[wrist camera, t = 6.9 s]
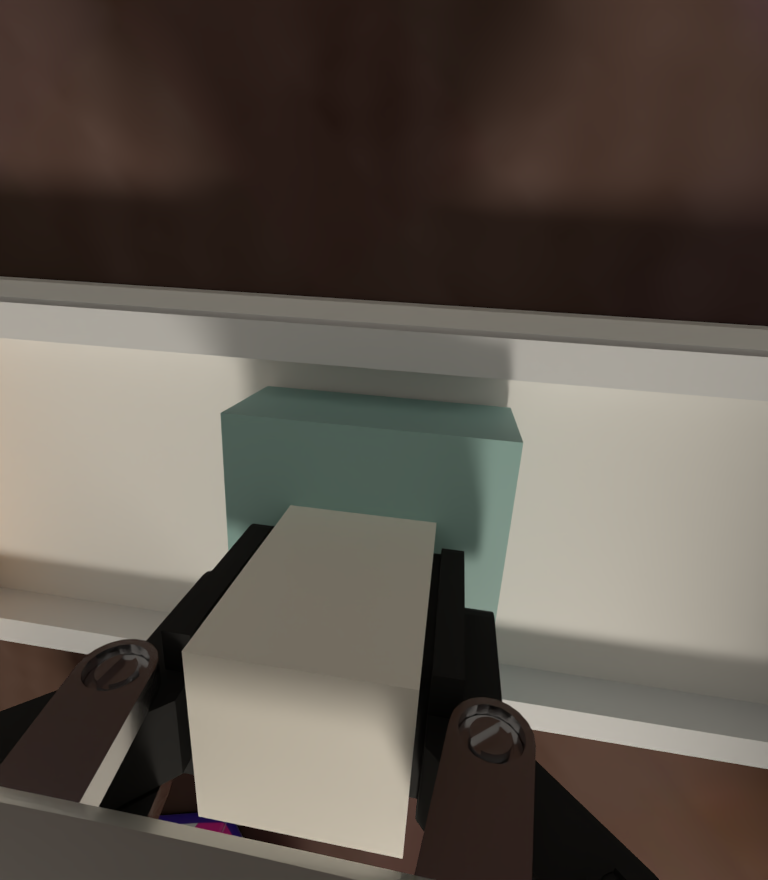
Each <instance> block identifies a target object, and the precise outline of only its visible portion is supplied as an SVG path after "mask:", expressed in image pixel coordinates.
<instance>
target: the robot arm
mask: <svg viewBox="0 0 768 880" xmlns="http://www.w3.org/2000/svg"><path fill="white" fill-rule="evenodd" d="M274 527H275V526H269V525H262V524H251V525H250V526H249V527H248V528H247V530H246V531H245V532H244V533H243V534H242V536H241V537H240V538H239V539H238V540H237V541H236V543H235V544H234V545H233V546H232V547H231V549H230V550H229V551H228V552H227V553H226V554H225V556H224V557H223V558H222V559H221V560H220V562H219V563H218V564H217V565H216V566H215V568H214V569H213V570H212V571H207V572H206V573H205V574H203V575H202V576H201V578H200V579H199V580H198V581H197V582H196V583H195V585H194V586H193V587H192V588H191V589H190V590H189V592H188V593H187V594H186V595H185V596H184V597H183V598H182V600H181V601H180V602H179V603H178V604H177V605H176V607H175V608H174V609H173V610H172V611H171V612H170V614H169V615H168V616H167V617H166V618H165V619H164V620H163V622H162V623H161V624H160V625H159V626H158V627H157V629H156V630H155V631H154V632H153V633H152V634H151V636H150V637H149V638H148V639H147V640H146V641H145V640H139V639H123V640H119V641H115V642H111V643H108V644H106V645H103V646H101V647H99V648H97V649H95V650H94V651H92V652H91V653H89V654H88V655H86V656H85V657H84V658H83V659H82V660H81V661H80V662H79V663H78V664H77V665H76V667H75V668H74V669H73V670H72V672H71V673H70V674H69V676H68V677H67V678H66V680H65V681H64V682H63V684H62V685H61V686H60V687H59V689H58V690H57V691H54V692H51V693H49V694H46V695H43V696H41V697H38V698H35V699H33V700H30V701H27V702H24V703H22V704H19V705H16V706H14V707H11V708H8V709H6V710H3V711H0V880H659V879H658V878H657V877H656V876H655V874H654V873H652V872H651V871H650V870H649V869H648V868H647V867H646V866H645V865H644V864H643V863H642V862H641V861H640V860H639V859H638V858H637V857H636V856H635V855H634V854H633V853H632V852H631V851H630V850H628V849H627V848H626V847H625V846H624V845H623V844H622V843H621V842H620V841H619V840H618V839H617V838H616V837H615V836H614V835H613V834H612V833H611V832H610V831H609V830H608V829H607V828H606V827H604V826H603V825H602V824H601V823H600V822H599V821H598V820H597V819H596V818H595V817H594V816H593V815H592V814H591V813H590V812H589V811H588V810H587V809H586V808H585V807H584V806H583V805H582V804H580V803H579V802H578V801H577V800H576V799H575V798H574V797H573V796H572V795H571V794H570V793H569V792H568V791H567V790H566V789H565V788H564V787H563V786H562V785H561V784H560V783H559V782H558V781H556V780H555V779H554V778H553V777H552V776H551V775H550V774H549V773H548V772H547V771H546V770H545V769H544V768H543V767H542V766H541V765H540V764H539V763H538V762H537V761H536V760H535V752H536V745H535V738H534V733H533V731H532V729H531V727H530V725H529V723H528V722H527V721H526V719H525V718H524V717H523V716H522V715H521V714H520V713H519V712H518V711H517V710H515V709H514V708H512V707H511V706H510V705H508V704H506V703H504V702H502V693H501V682H500V672H499V661H498V650H497V639H496V628H495V618H494V613H493V612H491V611H485V610H478V609H471V608H465V562H464V551H459V550H452V549H444V548H442V550H441V554H436V553H433V563H432V572H431V582H430V592H429V601H428V611H427V621H426V630H425V640H424V650H423V659H422V669H421V679H420V689H419V699H418V709H417V719H416V729H415V739H414V749H413V759H412V769H411V779H410V789H409V797H411V798H417V806H416V818H415V819H416V821H417V822H418V823H419V825H420V826H421V828H422V829H423V830H424V835H423V839H422V843H421V848H420V852H419V857H418V861H417V866H416V870H415V874H414V875H411V874H406V873H402V872H397V871H393V870H388V869H384V868H379V867H375V866H370V865H366V864H361V863H357V862H352V861H348V860H343V859H338V858H334V857H329V856H325V855H320V854H316V853H311V852H307V851H302V850H298V849H293V848H289V847H284V846H279V845H275V844H270V843H266V842H261V841H256V840H252V839H247V838H242V837H238V836H233V835H228V834H224V833H219V832H215V831H210V830H205V829H201V828H196V827H191V826H187V825H182V824H177V823H172V822H168V821H163V820H158V819H159V816H160V814H161V811H162V809H163V806H164V804H165V802H166V799H167V797H168V794H169V792H170V788H171V784H172V779H173V778H175V777H177V776H179V775H181V774H183V773H187V774H192V775H194V768H193V758H192V748H191V738H190V729H189V719H188V709H187V699H186V689H185V679H184V670H183V660H182V650H183V649H184V648H185V646H186V645H187V643H188V642H189V641H190V639H191V638H192V637H193V635H194V634H195V633H196V631H197V630H198V629H199V627H200V626H201V625H202V623H203V622H204V621H205V619H206V618H207V617H208V615H209V614H210V613H211V611H212V610H213V609H214V607H215V606H216V605H217V603H218V602H219V601H220V599H221V598H222V596H223V595H224V594H225V592H226V591H227V590H228V588H229V587H230V586H231V584H232V583H233V582H234V580H235V579H236V578H237V576H238V575H239V574H240V572H241V571H242V570H243V568H244V567H245V566H246V564H247V563H248V562H249V560H250V559H251V558H252V556H253V555H254V554H255V552H256V551H257V550H258V548H259V547H260V545H261V544H262V543H263V541H264V540H265V539H266V537H267V536H268V535H269V533H270V532H271V531H272V529H273V528H274Z"/></svg>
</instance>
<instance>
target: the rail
mask: <svg viewBox="0 0 768 880" xmlns="http://www.w3.org/2000/svg"><path fill="white" fill-rule="evenodd" d="M267 386H273V387H285V388H296V389H307V390H318V391H329V392H341V393H352V394H363V395H374V396H385V397H396V398H408V399H419V400H430V401H441V402H452V403H464V404H475V405H486V406H497V407H508V408H511V410H512V413H513V416H514V418H515V421H516V424H517V427H518V429H519V432H520V435H521V437H522V440H523V448H522V455H521V461H520V468H519V474H518V480H517V487H516V493H515V500H514V506H513V512H512V519H511V525H510V532H509V538H508V544H507V551H506V557H505V564H504V570H503V577H502V583H501V589H500V596H499V602H498V609H497V615H496V621H495V628H496V639H497V650H498V661H499V672H500V682H501V693H502V702H504V703H506V704H508V705H510V706H511V707H512V708H514V709H515V710H517V711H518V712H519V713H520V714H521V715H522V716H523V717H524V718H525V719H526V721H527V722H528V723H529V725H530V727H531V729H533V730H539V731H545V732H551V733H557V734H563V735H569V736H575V737H581V738H586V739H592V740H598V741H604V742H610V743H616V744H622V745H628V746H634V747H640V748H646V749H652V750H658V751H664V752H669V753H675V754H681V755H687V756H693V757H699V758H705V759H711V760H717V761H723V762H729V763H735V764H741V765H747V766H753V767H758V768H764V769H768V326H756V325H741V324H726V323H710V322H695V321H679V320H664V319H649V318H633V317H618V316H602V315H587V314H572V313H556V312H541V311H526V310H510V309H495V308H479V307H464V306H449V305H433V304H418V303H402V302H387V301H372V300H356V299H341V298H325V297H310V296H295V295H279V294H264V293H248V292H233V291H218V290H202V289H187V288H171V287H156V286H141V285H125V284H110V283H94V282H79V281H64V280H48V279H33V278H18V277H2V276H0V640H5V641H11V642H17V643H23V644H29V645H35V646H41V647H47V648H53V649H59V650H65V651H70V652H76V653H82V654H89V653H91V652H92V651H94V650H95V649H97V648H99V647H101V646H103V645H106V644H108V643H111V642H115V641H119V640H123V639H139V640H145V641H146V640H147V639H148V638H149V637H150V636H151V634H152V633H153V632H154V631H155V630H156V629H157V627H158V626H159V625H160V624H161V623H162V622H163V620H164V619H165V618H166V617H167V616H168V615H169V614H170V612H171V611H172V610H173V609H174V608H175V607H176V605H177V604H178V603H179V602H180V601H181V600H182V598H183V597H184V596H185V595H186V594H187V593H188V592H189V590H190V589H191V588H192V587H193V586H194V585H195V583H196V582H197V581H198V580H199V579H200V578H201V576H202V575H203V574H205V573H206V572H207V571H212V570H213V569H214V568H215V566H216V565H217V564H218V563H219V562H220V560H221V559H222V558H223V557H224V556H225V554H226V553H227V552H228V536H227V519H226V502H225V484H224V467H223V450H222V433H221V415H220V413H221V412H223V411H225V410H227V409H228V408H230V407H232V406H234V405H235V404H237V403H239V402H241V401H242V400H244V399H246V398H248V397H249V396H251V395H253V394H255V393H256V392H258V391H260V390H262V389H263V388H265V387H267Z"/></svg>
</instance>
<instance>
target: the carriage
mask: <svg viewBox="0 0 768 880" xmlns="http://www.w3.org/2000/svg"><path fill="white" fill-rule="evenodd" d="M220 415H221V433H222V450H223V467H224V484H225V502H226V519H227V536H228V551H229V550H230V549H231V547H232V546H233V545H234V544H235V543H236V541H237V540H238V539H239V538H240V537H241V536H242V534H243V533H244V532H245V531H246V530H247V528H248V527H249V526H250V525H251V524H262V525H269V526H275V527H274V528H273V529H272V531H271V532H270V533H269V535H268V536H267V537H266V539H265V540H264V541H263V543H262V544H261V545H260V547H259V548H258V550H257V551H256V552H255V554H254V555H253V556H252V558H251V559H250V560H249V562H248V563H247V564H246V566H245V567H244V568H243V570H242V571H241V572H240V574H239V575H238V576H237V578H236V579H235V580H234V582H233V583H232V584H231V586H230V587H229V588H228V590H227V591H226V592H225V594H224V595H223V596H222V598H221V599H220V601H219V602H218V603H217V605H216V606H215V607H214V609H213V610H212V611H211V613H210V614H209V615H208V617H207V618H206V619H205V621H204V622H203V623H202V625H201V626H200V627H199V629H198V630H197V631H196V633H195V634H194V635H193V637H192V638H191V639H190V641H189V642H188V643H187V645H186V646H185V648H184V649H183V650H182V660H183V670H184V679H185V689H186V699H187V709H188V719H189V729H190V738H191V748H192V758H193V768H194V778H195V788H196V797H197V807H198V816H199V817H204V818H209V819H214V820H219V821H223V822H228V823H233V824H238V825H243V826H247V827H252V828H257V829H262V830H267V831H272V832H276V833H281V834H286V835H291V836H296V837H301V838H305V839H310V840H315V841H320V842H325V843H330V844H334V845H339V846H344V847H349V848H354V849H358V850H363V851H368V852H373V853H378V854H383V855H387V856H392V857H397V858H403V849H404V839H405V829H406V819H407V810H408V800H409V789H410V779H411V769H412V759H413V749H414V739H415V729H416V719H417V709H418V699H419V689H420V679H421V669H422V659H423V650H424V640H425V630H426V621H427V611H428V601H429V592H430V582H431V572H432V563H433V553H436V554H441V550H442V548H444V549H452V550H459V551H464V562H465V608H471V609H478V610H485V611H491V612H493V613H494V618H495V621H496V615H497V609H498V602H499V596H500V589H501V583H502V577H503V570H504V564H505V557H506V551H507V544H508V538H509V532H510V525H511V519H512V512H513V506H514V500H515V493H516V487H517V480H518V474H519V468H520V461H521V455H522V448H523V440H522V437H521V435H520V432H519V429H518V427H517V424H516V421H515V418H514V416H513V413H512V410H511V408H508V407H497V406H486V405H475V404H464V403H452V402H441V401H430V400H419V399H408V398H396V397H385V396H374V395H363V394H352V393H341V392H329V391H318V390H307V389H296V388H285V387H273V386H267V387H265V388H263V389H262V390H260V391H258V392H256V393H255V394H253V395H251V396H249V397H248V398H246V399H244V400H242V401H241V402H239V403H237V404H235V405H234V406H232V407H230V408H228V409H227V410H225V411H223V412H221V413H220Z"/></svg>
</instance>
